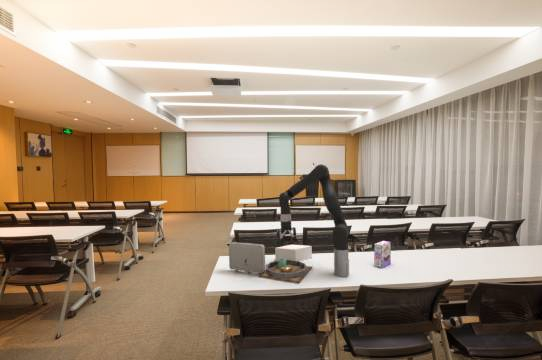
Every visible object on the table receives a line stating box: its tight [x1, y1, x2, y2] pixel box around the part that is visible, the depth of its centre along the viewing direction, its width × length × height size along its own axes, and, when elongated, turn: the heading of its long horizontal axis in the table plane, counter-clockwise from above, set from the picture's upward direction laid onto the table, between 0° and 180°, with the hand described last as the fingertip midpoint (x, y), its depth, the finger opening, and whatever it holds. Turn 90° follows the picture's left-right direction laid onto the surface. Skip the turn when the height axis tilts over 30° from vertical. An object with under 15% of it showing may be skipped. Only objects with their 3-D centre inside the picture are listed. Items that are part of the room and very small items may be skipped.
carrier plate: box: [258, 264, 313, 285], centre depth 184 cm, size 28×28×6 cm
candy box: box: [373, 240, 392, 269], centre depth 195 cm, size 14×6×16 cm, turn 131°
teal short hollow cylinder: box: [278, 259, 286, 268], centre depth 192 cm, size 6×6×5 cm
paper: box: [274, 244, 313, 262], centre depth 212 cm, size 14×29×10 cm, turn 96°
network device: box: [228, 241, 266, 277], centre depth 186 cm, size 26×9×20 cm, turn 68°
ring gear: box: [265, 260, 308, 279], centre depth 184 cm, size 27×27×3 cm
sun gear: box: [280, 265, 293, 273], centre depth 184 cm, size 9×9×2 cm
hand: (286, 242), depth 192 cm, fingers open, 8 cm apart
